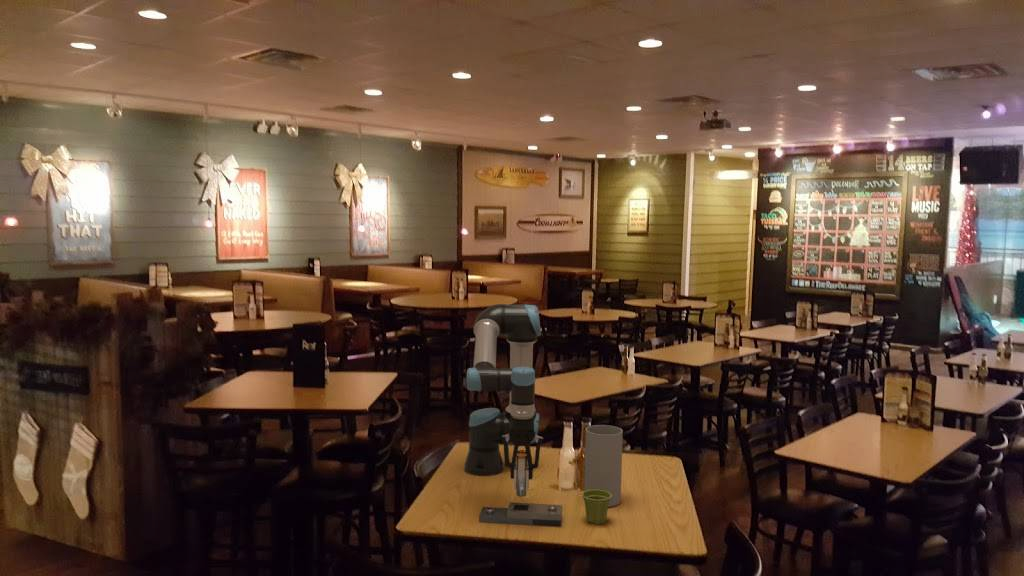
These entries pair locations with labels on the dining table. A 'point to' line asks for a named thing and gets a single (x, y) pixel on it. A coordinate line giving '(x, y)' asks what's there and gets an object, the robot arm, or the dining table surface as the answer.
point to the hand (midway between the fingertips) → (521, 488)
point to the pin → (521, 473)
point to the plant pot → (596, 505)
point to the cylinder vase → (604, 460)
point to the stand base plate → (523, 514)
